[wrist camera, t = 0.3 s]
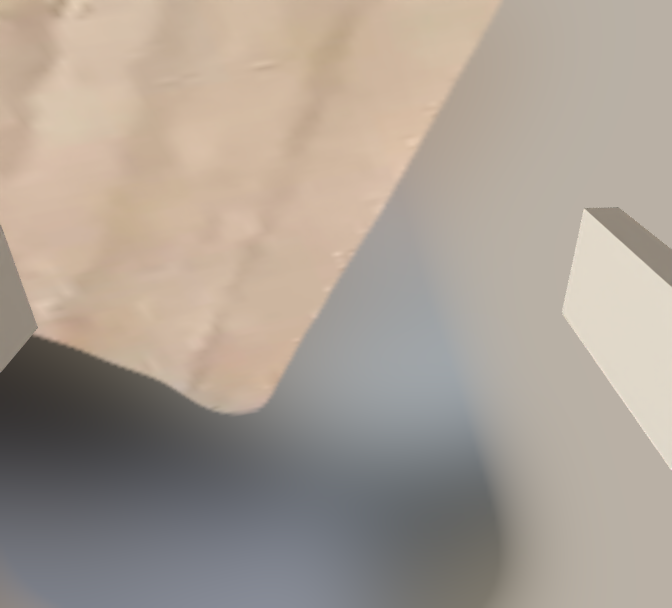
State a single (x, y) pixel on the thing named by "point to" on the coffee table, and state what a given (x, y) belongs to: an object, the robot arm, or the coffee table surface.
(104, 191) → the coffee table surface
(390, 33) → the coffee table surface
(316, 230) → the coffee table surface
